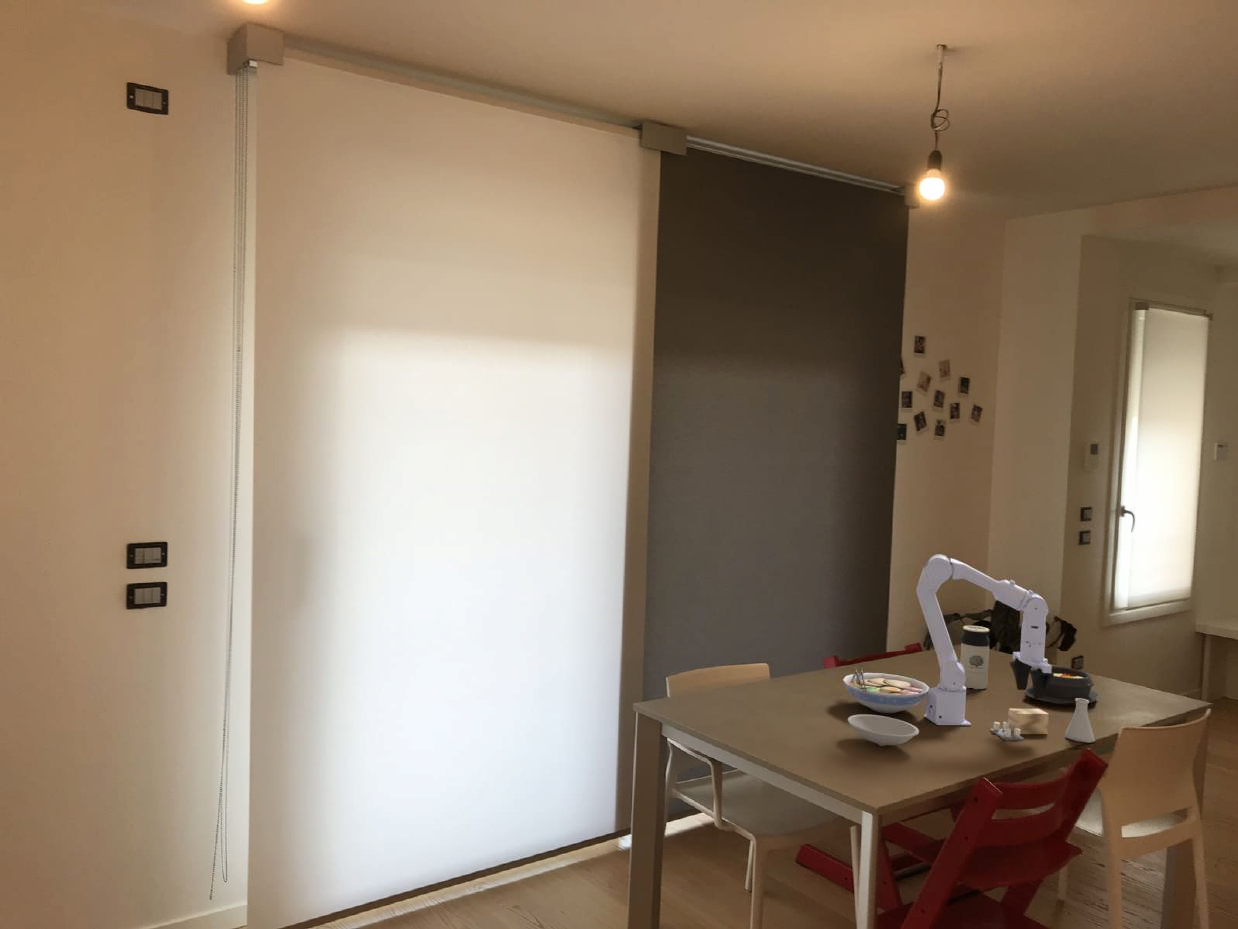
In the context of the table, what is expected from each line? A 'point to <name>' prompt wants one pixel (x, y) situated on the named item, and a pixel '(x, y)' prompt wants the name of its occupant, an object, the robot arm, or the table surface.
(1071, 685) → the casserole
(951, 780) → the table surface
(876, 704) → the ramen bowl
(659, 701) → the table surface
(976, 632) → the travel mug
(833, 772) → the table surface
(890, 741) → the dish
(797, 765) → the table surface
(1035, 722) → the wooden block
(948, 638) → the robot arm
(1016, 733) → the peg stand
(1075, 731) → the flask
